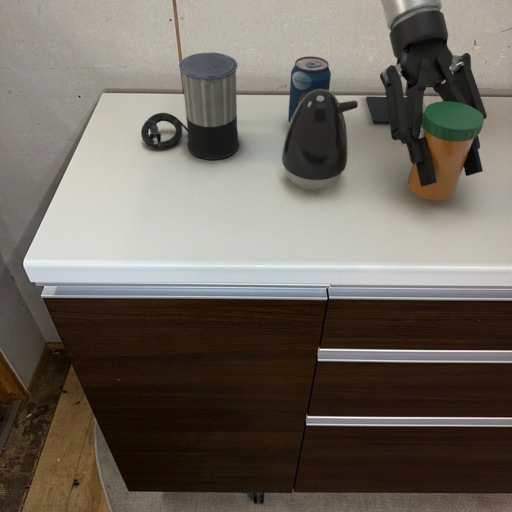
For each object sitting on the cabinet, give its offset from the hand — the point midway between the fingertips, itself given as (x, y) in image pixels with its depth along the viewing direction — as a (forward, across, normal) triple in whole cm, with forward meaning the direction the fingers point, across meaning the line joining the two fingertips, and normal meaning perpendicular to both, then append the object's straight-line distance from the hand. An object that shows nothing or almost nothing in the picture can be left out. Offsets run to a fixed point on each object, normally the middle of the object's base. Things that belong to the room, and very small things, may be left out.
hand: (451, 178), depth 68 cm
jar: (0, 0, -5) cm, 5 cm away
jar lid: (-8, 0, +3) cm, 9 cm away
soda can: (-17, +9, -25) cm, 32 cm away
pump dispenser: (-6, +15, -14) cm, 21 cm away
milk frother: (-18, +31, -26) cm, 44 cm away
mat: (-16, -10, -25) cm, 31 cm away
